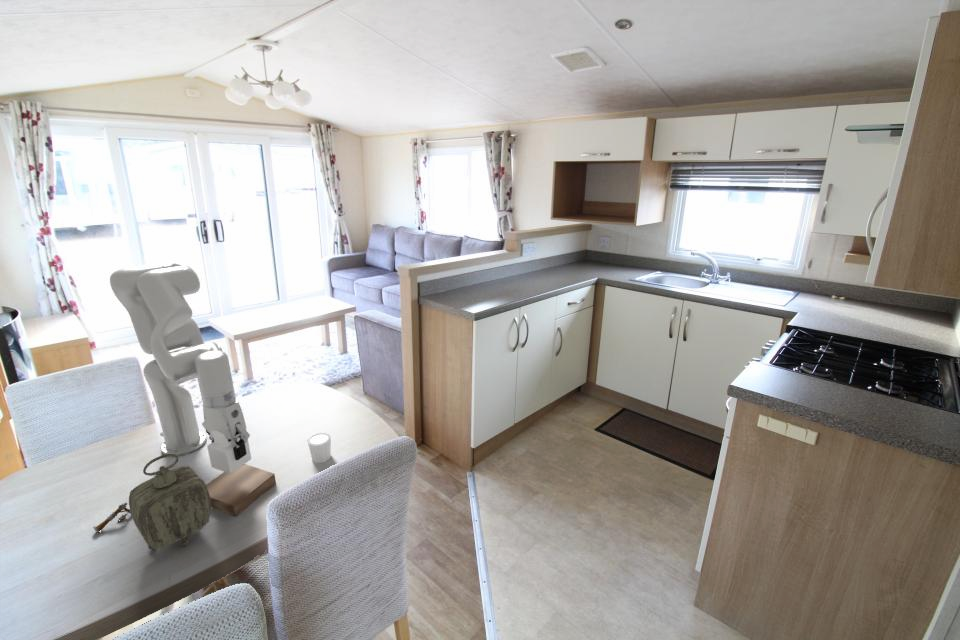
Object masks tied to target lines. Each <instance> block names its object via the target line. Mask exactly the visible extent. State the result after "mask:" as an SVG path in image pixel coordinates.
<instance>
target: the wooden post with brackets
mask: <svg viewBox="0 0 960 640" xmlns="http://www.w3.org/2000/svg"><path fill="white" fill-rule="evenodd" d="M127 505H128V502H124V503H121V504H120V505H118V508H117V509H116V510H114V511H113V512H112V513H111V514H110V515H109V516H108V517H106V519H104V520H103V521H102V522H101V523H99V524H98V525H96V526H95V525H94V526H93V527H92V528H93V530H94V531H96V532H97V533H99V531H100V530H101V531H102V530H103V529H104V528H105V527H107V525H108V524H109V522H112V521H113V520H114V519H115V518H116V517H117V516H118V514H119V513H124V512H126V513H124V514H121V516H120V517H118V518H117V519H118V520H117V522H118V521H119V520H120V522H122V521H121V520H122V519H124V520H125V519H127V516H128V514H130V515H131V512H130V508H127Z"/></svg>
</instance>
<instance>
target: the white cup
mask: <svg viewBox="0 0 960 640" xmlns="http://www.w3.org/2000/svg"><path fill="white" fill-rule="evenodd" d="M331 439H332V438H331V435H330V434H328V433H326V432H319V433H315V434H312V435H311V436H309V438H308V439H307V444H308V447H309V452H310V456H311V460H312V462H314V463H317V464H321V463H325V462H328V461H329V460H330V458H331V456H332V455H331Z"/></svg>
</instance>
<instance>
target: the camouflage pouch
mask: <svg viewBox="0 0 960 640" xmlns="http://www.w3.org/2000/svg"><path fill="white" fill-rule="evenodd" d="M178 456H179V455H178ZM178 456H177V455H175V454H162V455H160V456H157V457H155V458H153V459H152V460H150V461H148V462H147V463H146V465H145V466H144V467H143V470H142V471H143V474H144V475H145V476H154V477H152V478H150V479H147V480H146V481H144V482H141V483H140V484H138V485H136V486H134V488H133V489H131V490H130V492H129V496H128V505H129V506H128V507H129V509H130V512H131V514H130V516H131V518H132V520H133V523H134V525H135V527H136V528H137V530H138V532H139V533H140V535H141V536H142V538H143V539H144V541H145V543H146V544H147V546H148V549H149V550H155V549H161V548H165V547H168V546H170V545H172V544H174V543H176V542H177V541H180V540H181V541H180V546H181V547H187V545H188V544H189V540H188V539H187V538H186V537H188V536H190V535H191V534H193V533H195V532H196V531H198V530H200V529H202V528H203V527H204V526H206V524H208V523H209V521H210V518H211V514H212V507H211V501H210V495H209V492H208V489H207V487H206V483H205V482H204V480H203V479H202V478H201V477H200V476H199V474H197V472H195V470H194V469H193V468H192V467H191V466H190V465H186V466H185V465H184V466H180V467H176V468H173V467H174V466H176V464H177V463H178V461H179V457H178ZM168 457H173V458H175V461H174V462H173V463H172V464H170V465H168V466H167V467H165V466H164V465H162V466H161V465H160V467H159V468H158V469H159V470H158V471H155V472H147V471H146V470H147V468H149V466H150V465H151V464H153V463H155V462H157V461H159V460H161V459H164V458H168ZM172 468H173V469H172Z"/></svg>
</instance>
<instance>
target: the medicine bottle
mask: <svg viewBox="0 0 960 640" xmlns="http://www.w3.org/2000/svg"><path fill="white" fill-rule="evenodd" d="M212 434H213V438H214V442H213V443H212V442H210V443H209V444H208V445H207V447H206V448H207V451H208V456H209V460H210V461H209V462H210V465H211V468H213V469H216V470H218V471H222V472H226V473H229V474H231V473H232V472H234V471H235V470H237V469H238V468H239V467H241V466H242V465H244V464H246V463H248V462H249V461H251V460H252V456H251V455H252V453H251V450H250V443H249V439H248V440H247V441H246V443H245V447H246V453H247V454H246V455H245V456H243V457H242V458H240V459H239V460H235V455H234V450H233V448H234V447H235V446H234V445H233V443H232V441H231V440H230V439H226V437H225V435H224V434H223V433H221V432H219V431H214V430H213V431H212ZM236 434H237V432H236ZM236 434H235V435H236ZM235 439H236V441H237V442H238V441H239V440H240V439H239V437H237V438H235Z"/></svg>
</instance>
